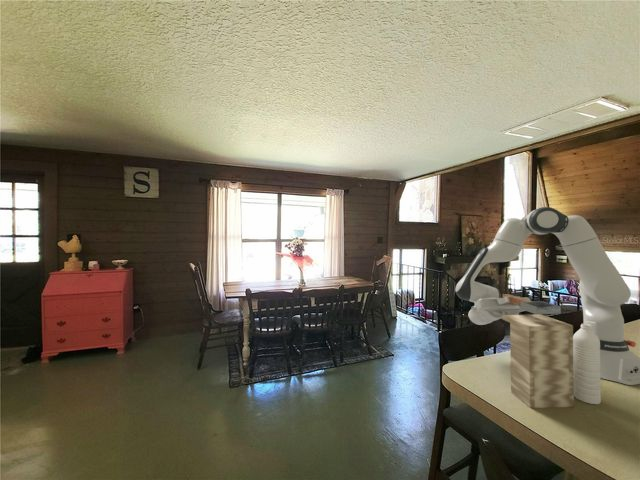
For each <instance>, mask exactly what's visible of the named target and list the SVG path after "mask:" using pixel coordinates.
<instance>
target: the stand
mask: <svg viewBox="0 0 640 480" xmlns="http://www.w3.org/2000/svg"><path fill="white" fill-rule="evenodd" d="M502 320H503V321H506V322H507V323H509V324H510V327H509V331H510V332H509V335H510V336H509V339H510V343H509V344H510V347H509V348H510V393H511V394H513V396H515V397H516V398H517V399H518V400H520V401H521V402H522V403H524V404H525V405H526V406H527V407H528V408H530V409H531V408H532V409H533V408H534V409H538V408H540V409H541V408H574V407H575V396H574V370H573V335H574V325H573V324H570V323H566V322H565V321H561V320H558V319H556V318H553V317H549V316H547V315H545V314H534V313H532V314H518V315H502Z"/></svg>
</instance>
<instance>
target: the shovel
mask: <svg viewBox="0 0 640 480" xmlns="http://www.w3.org/2000/svg"><path fill="white" fill-rule="evenodd" d="M504 297H511V299H512V301H510V302H511V303H514V304H517V305H520V309H522V310H525V311H524V312H529V313H531V314H541V315H555V314H556V315H559V314H561V312H562V311H561V308H562V306H560V305H557V304H552V303H551V302H546V301H542V300H541V301H532V300H531V299H530V300H526V299H523V298H524V297H521V296H520V297H516V295H513V294H509V293H502V298H504Z"/></svg>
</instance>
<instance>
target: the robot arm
mask: <svg viewBox="0 0 640 480" xmlns="http://www.w3.org/2000/svg"><path fill="white" fill-rule="evenodd" d="M548 234H553V235H555V236H556V237H557V239H558V240H559V242H560V245H561V246H562V248H563V250H564V253H565V255H566V257H567V259H568V262H569V263H570V265H571V266H572V268H573V269H574V271H575V273H576V274H577V276H578V278H579V279H580V280H579V291H580V300H581V308H582V316H583V320H582V321H583V324H586V321H592V322H596V326H591V330H592V331H593V332H594V333H595V335H596V336H597V337H598V338H599V340H600V379H604V380H608V381H612V382H617V383H620V384H624V385H627V386H635V385H640V356H639V355H637V354H636V353H635V352H633V350H632V351H631V350H630V347H632V348H635V347H636V346H637V343H636V342H635V341H632V340H629V339H628V340H626V339H625V319H624V316H623V314H622V309H621V305H624V304H625V303H627V302H628V301H629V300H630V298H631V295H632V293H631V289H630V287H629V286H628V284H627V283H626V281H625V280H624V278H623V277H622V275H621V273H620V272H619V270H618V269H617V268H616V266H615V264H614V263H613V262H612V261H611V259H610V258H609V256H608V254H607V253H606V250H605V249H604V247H603V245H602V243H601V241H600V239H599V237H598V235H597V233H596V232H595V230H594V229H593V227H592V225H590V223H589V222H588V221H587V220H586V219H585V218H584V217H583V216H581V215H577V214H576V215H575V214H574V215H573V214H572V215H566V214H564V213H562V212H561V211H560V210H558V209H556V208H553V207H550V206H542V207H538V208H536V209H534V210H531V211H530V212H529V213H528V214H526V215H525V216H524V217H523V218H515V217H514V218H512V217H511V218H507V219H506V220H504V221H503V222H502V223H501V225H500V227H499V228H498V230H497V232H496V234H495V236H494V237H493V238H494V239H493V241H492V242H491V243H490V244H489V245H488V246H487V247H482V248H481V249H480V250H479V251H478V253H477V254H476V256H475V257H474V259H473V260H472V262H470V264H469V266H468V268H467V269H466V271H465V272H464V274H463V276H462V277H461V278H460V279H459V281H458V282H457V283H456V285H455V288H454V292H455V294H456V296H457V297H458V298H459V299H460V300H463V301H466V302H471V303H474V305H473V306H471V307H470V308H471V309H470V310H469V311H468V318H469V320H470V321H471V323H473V324H475V325H479V326H483V325H484V326H485V325H488V324H491V323H493V322H495V321H498V320H500V319H502V315H520V313H521V312H526V311H525V310H522V309H520V305H517V304H514V303H511V302H510V301H512V299H511V297H504V298H503V296H502V294H501V292H500V290H499V289H498V288H497V287H494V286H491V285H488V284H484V283H481V282H479V281H475V280H476V278H477V276H478V275H479V273H480V272H481V270H482V268H483V267H484V266H485V265H488V264H490V263H505V262H510V261H513V260H515V259H517V258H518V256H519V255H520V253H521V252H522V249H523V246H524V245H525V241H526V239H527V238H528V237H529V236H530V235H536V236H537V235H548ZM515 296H516V295H515ZM516 297H520V298H521V296H519V295H517V296H516ZM522 298H523V299H526V300H530V301H531V299H530V297H526V296H525V297H522ZM502 320H503V319H502ZM589 325H590V324H589Z"/></svg>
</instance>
